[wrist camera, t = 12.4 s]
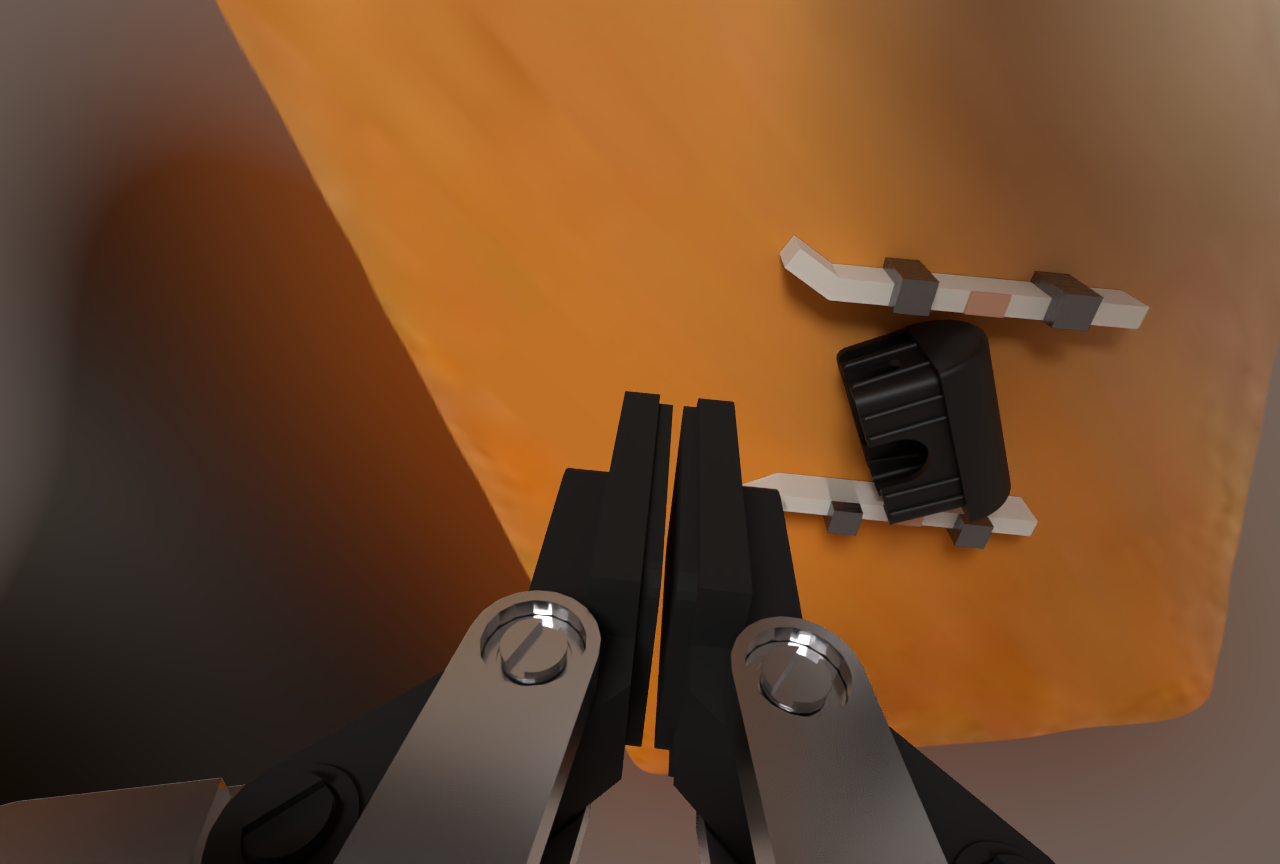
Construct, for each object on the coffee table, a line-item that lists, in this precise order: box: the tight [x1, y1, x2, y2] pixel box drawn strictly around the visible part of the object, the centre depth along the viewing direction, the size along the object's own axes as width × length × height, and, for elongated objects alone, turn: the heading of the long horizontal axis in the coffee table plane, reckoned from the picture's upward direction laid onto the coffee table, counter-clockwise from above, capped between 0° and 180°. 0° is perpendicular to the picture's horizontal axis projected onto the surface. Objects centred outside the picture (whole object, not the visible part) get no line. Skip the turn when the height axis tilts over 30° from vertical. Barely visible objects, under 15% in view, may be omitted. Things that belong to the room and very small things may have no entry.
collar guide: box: [742, 235, 1150, 549], centre depth 38 cm, size 18×19×4 cm
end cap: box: [837, 320, 1011, 525], centre depth 36 cm, size 10×7×7 cm
